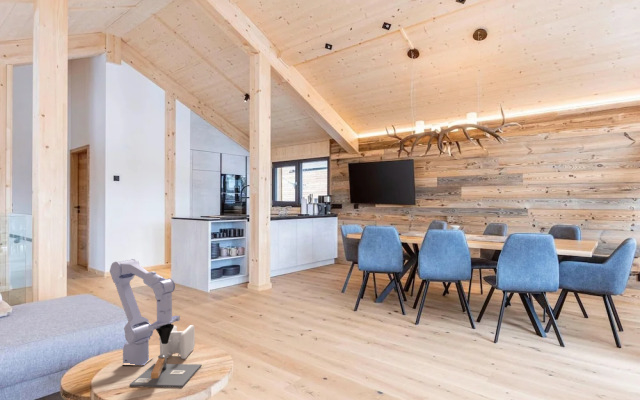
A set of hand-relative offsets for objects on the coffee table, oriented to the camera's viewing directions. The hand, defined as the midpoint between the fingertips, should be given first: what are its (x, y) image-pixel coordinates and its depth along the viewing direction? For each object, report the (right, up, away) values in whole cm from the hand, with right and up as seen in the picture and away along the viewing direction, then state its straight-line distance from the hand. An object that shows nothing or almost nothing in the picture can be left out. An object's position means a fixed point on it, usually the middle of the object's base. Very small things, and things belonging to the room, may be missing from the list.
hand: (164, 343), depth 154 cm
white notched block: (0, -11, +14) cm, 18 cm away
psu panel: (+4, -10, -6) cm, 13 cm away
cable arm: (+1, -9, -9) cm, 13 cm away
